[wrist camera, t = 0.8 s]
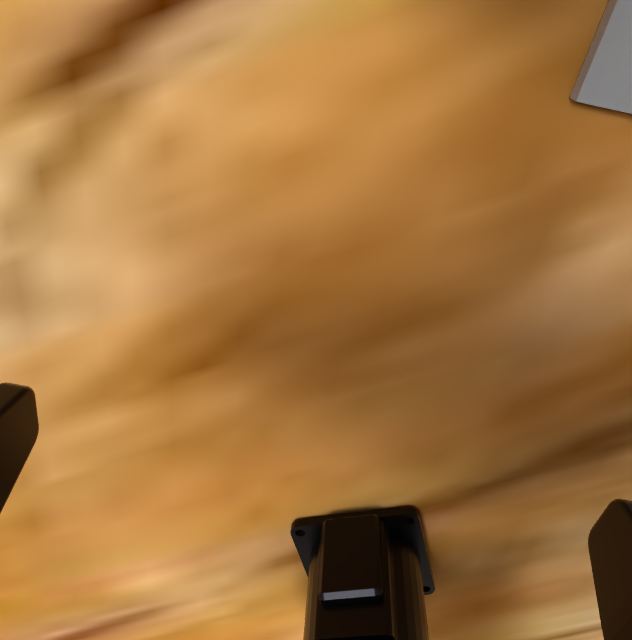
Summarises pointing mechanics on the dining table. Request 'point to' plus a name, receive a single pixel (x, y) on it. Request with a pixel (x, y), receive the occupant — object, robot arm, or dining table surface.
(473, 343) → the dining table surface
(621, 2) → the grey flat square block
